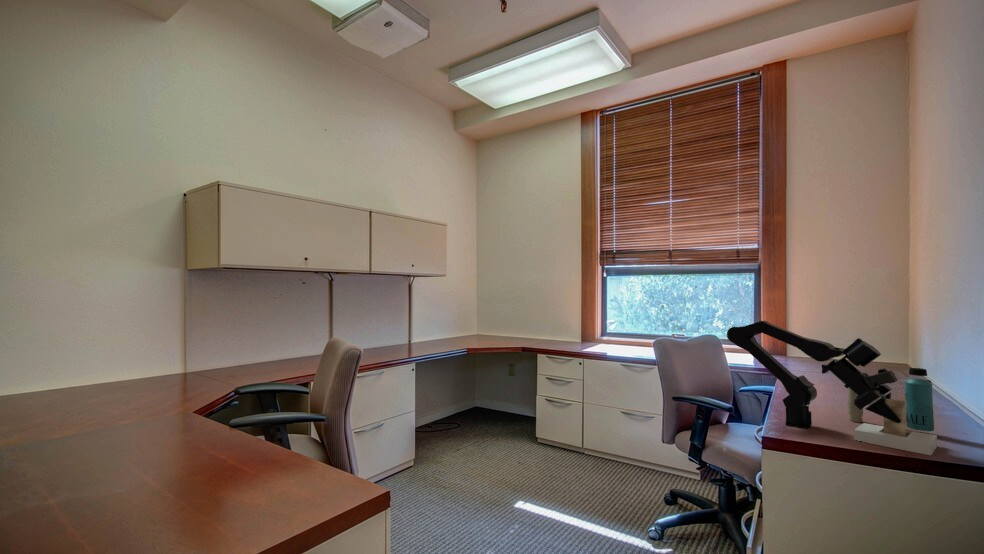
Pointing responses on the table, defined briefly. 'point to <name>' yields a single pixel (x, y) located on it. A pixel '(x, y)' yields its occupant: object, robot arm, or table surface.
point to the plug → (899, 410)
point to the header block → (896, 439)
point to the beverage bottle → (919, 401)
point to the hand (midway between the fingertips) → (901, 421)
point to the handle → (854, 408)
